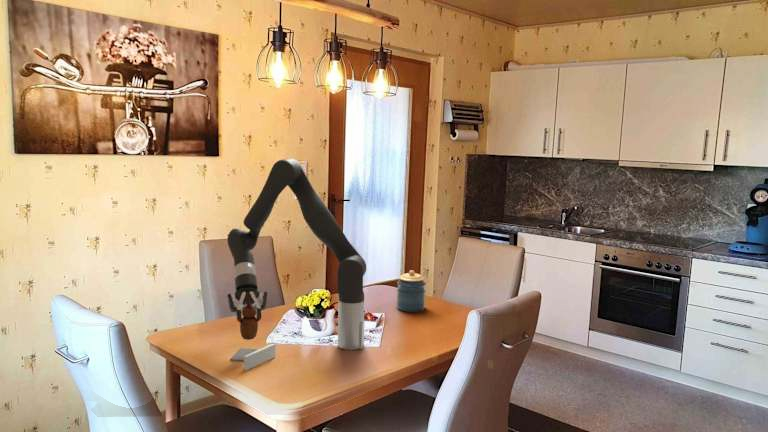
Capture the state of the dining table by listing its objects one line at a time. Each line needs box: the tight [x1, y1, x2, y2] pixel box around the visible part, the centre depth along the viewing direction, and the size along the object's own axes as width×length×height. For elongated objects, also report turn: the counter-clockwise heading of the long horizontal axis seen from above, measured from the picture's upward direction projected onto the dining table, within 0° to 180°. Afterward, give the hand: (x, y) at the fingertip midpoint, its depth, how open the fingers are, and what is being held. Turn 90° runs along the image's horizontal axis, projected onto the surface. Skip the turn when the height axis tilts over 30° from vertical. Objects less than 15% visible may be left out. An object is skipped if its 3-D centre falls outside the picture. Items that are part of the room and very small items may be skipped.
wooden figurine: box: [239, 296, 259, 341], centre depth 192 cm, size 7×6×15 cm
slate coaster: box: [229, 347, 260, 362], centre depth 194 cm, size 10×10×1 cm
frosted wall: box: [243, 343, 276, 371], centre depth 188 cm, size 14×1×4 cm, turn 150°
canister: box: [396, 269, 427, 313], centre depth 253 cm, size 13×13×18 cm
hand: (249, 320), depth 190 cm, fingers closed on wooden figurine, 5 cm apart
